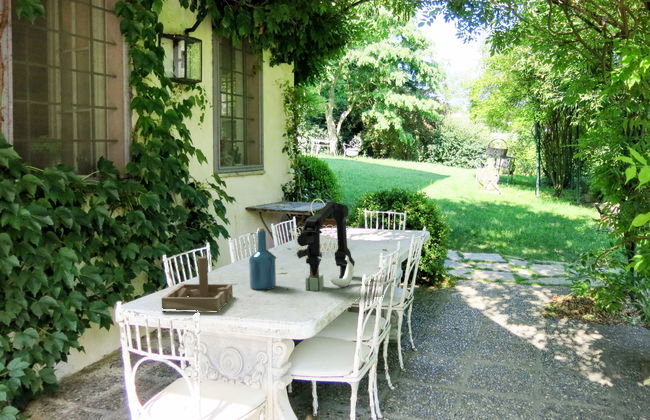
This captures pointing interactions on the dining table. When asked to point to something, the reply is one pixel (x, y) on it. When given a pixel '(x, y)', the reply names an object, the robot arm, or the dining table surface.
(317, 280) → the green open frame
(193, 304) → the crate frame
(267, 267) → the wine bottle
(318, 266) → the walnut peg
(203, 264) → the wooden blocks
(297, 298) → the dining table surface
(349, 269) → the banana
